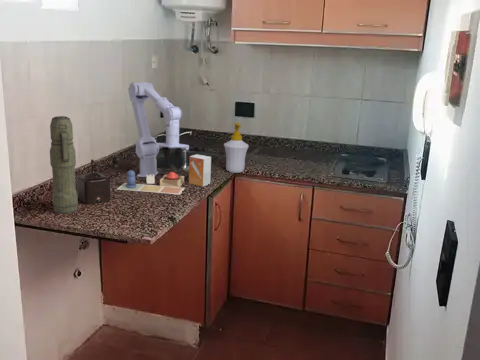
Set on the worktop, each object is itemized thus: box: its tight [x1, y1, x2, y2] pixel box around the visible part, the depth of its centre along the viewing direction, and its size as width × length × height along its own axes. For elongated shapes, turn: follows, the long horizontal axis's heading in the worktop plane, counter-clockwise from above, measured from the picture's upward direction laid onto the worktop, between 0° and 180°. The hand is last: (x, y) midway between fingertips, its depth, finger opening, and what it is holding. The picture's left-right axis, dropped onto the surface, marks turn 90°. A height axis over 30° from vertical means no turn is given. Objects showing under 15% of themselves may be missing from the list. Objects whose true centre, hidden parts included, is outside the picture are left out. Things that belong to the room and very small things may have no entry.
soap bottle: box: [223, 122, 249, 174], centre depth 247 cm, size 13×13×25 cm
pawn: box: [126, 169, 137, 188], centre depth 214 cm, size 4×4×8 cm
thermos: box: [49, 115, 79, 215], centre depth 179 cm, size 9×12×35 cm
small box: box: [188, 153, 212, 188], centre depth 224 cm, size 8×6×13 cm
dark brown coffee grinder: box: [75, 155, 122, 206], centre depth 196 cm, size 16×11×18 cm
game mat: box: [116, 182, 186, 196], centre depth 214 cm, size 10×28×1 cm, turn 84°
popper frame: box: [159, 174, 185, 188], centre depth 222 cm, size 9×9×3 cm
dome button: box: [165, 171, 179, 180], centre depth 222 cm, size 5×5×4 cm
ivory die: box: [145, 174, 156, 185], centre depth 223 cm, size 4×4×4 cm
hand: (172, 164), depth 220 cm, fingers open, 3 cm apart
